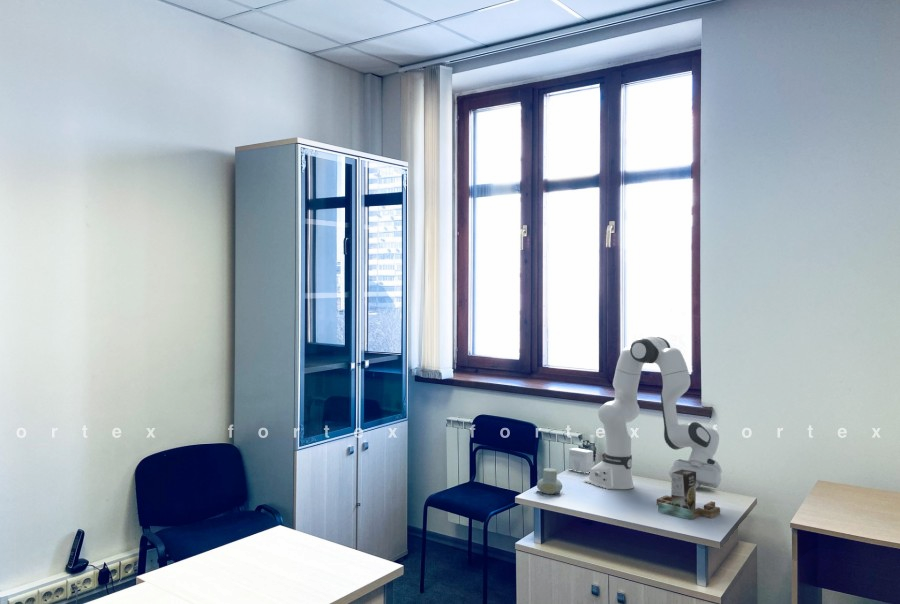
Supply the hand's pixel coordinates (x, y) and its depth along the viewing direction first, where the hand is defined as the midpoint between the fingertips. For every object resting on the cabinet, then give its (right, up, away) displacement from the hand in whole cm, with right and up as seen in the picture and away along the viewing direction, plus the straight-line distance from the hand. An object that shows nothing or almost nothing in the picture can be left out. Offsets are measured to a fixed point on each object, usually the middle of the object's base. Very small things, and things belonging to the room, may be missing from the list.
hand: (688, 491), depth 275 cm
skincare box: (-32, -7, +60) cm, 68 cm away
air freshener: (-53, -7, +21) cm, 58 cm away
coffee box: (-4, -8, -4) cm, 9 cm away
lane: (-1, -7, 0) cm, 7 cm away
